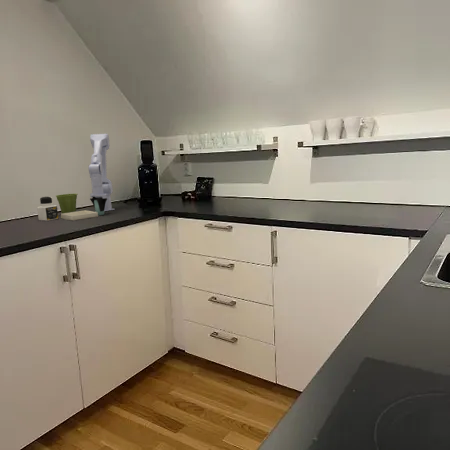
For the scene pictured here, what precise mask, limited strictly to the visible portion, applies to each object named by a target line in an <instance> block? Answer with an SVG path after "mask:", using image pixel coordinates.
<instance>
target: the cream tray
mask: <svg viewBox="0 0 450 450" xmlns="http://www.w3.org/2000/svg"><path fill="white" fill-rule="evenodd" d="M98 217H99V215H98V212H95V211H92V210H79V211H77V210H76V212H70V213H64V214H62V213H60V219H61V220H66V221H72V222H73V221H80V220H86V219H93V218H98Z"/></svg>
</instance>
